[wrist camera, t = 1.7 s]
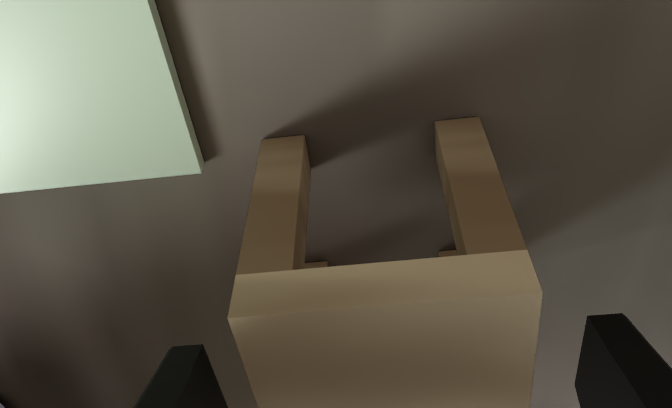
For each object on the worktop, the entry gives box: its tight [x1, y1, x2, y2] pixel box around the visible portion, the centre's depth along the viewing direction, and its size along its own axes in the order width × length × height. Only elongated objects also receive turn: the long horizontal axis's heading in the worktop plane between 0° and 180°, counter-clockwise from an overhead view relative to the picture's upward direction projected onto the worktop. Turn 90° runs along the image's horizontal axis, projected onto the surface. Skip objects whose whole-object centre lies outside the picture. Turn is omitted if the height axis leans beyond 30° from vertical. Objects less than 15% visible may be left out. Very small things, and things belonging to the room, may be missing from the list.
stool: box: [227, 117, 543, 408], centre depth 13 cm, size 5×5×6 cm
